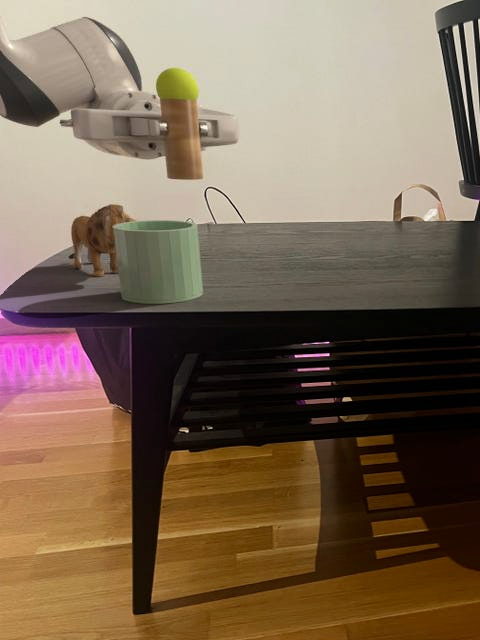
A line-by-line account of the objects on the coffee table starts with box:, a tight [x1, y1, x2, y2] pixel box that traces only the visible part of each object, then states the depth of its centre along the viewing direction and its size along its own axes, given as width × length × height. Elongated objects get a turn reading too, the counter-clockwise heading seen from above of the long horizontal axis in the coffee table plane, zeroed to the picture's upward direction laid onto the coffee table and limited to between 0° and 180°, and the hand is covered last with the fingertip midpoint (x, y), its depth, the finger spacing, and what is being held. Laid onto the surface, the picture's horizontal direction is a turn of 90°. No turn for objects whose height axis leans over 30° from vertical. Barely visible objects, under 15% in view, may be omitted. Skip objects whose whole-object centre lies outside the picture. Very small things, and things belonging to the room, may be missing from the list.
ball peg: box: [155, 67, 204, 181], centre depth 87 cm, size 5×5×13 cm
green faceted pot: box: [112, 219, 204, 305], centre depth 80 cm, size 9×9×8 cm
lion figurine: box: [67, 203, 137, 278], centre depth 91 cm, size 15×5×9 cm, turn 57°
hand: (184, 128), depth 86 cm, fingers closed on ball peg, 4 cm apart
